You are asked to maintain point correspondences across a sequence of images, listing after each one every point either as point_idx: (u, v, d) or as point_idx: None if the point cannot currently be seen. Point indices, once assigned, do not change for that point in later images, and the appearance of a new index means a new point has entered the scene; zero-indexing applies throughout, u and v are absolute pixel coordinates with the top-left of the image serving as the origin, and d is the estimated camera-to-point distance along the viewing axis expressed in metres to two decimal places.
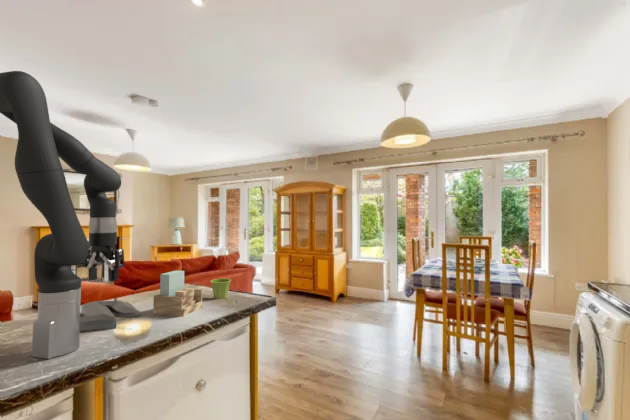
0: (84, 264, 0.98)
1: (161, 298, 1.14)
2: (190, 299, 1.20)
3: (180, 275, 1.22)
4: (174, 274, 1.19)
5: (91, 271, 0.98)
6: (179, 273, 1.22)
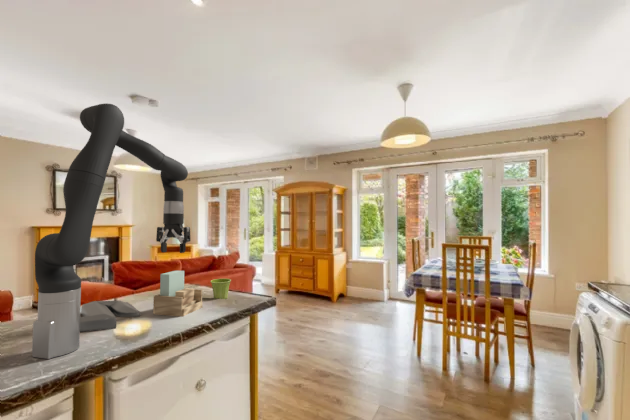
0: (157, 239, 1.21)
1: (161, 298, 1.14)
2: (190, 299, 1.20)
3: (180, 275, 1.22)
4: (174, 274, 1.19)
5: (163, 245, 1.21)
6: (179, 273, 1.22)
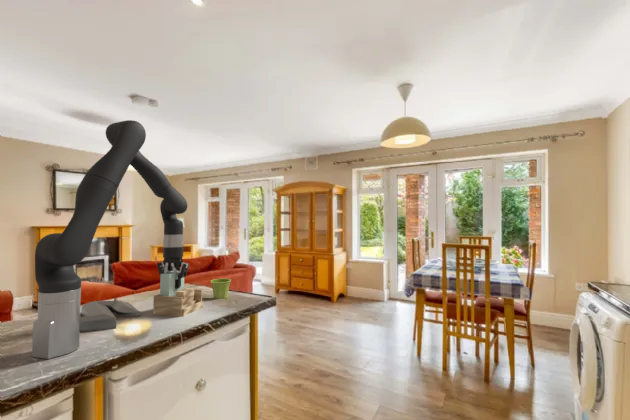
0: None
1: (161, 298, 1.14)
2: (190, 299, 1.20)
3: None
4: (174, 274, 1.19)
5: None
6: None
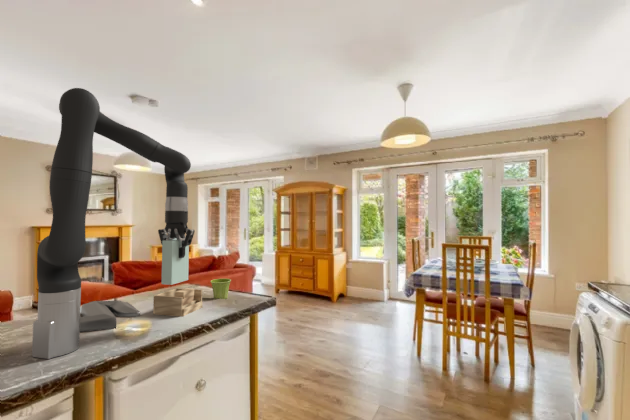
0: None
1: (161, 298, 1.14)
2: (190, 299, 1.20)
3: None
4: (178, 241, 1.05)
5: None
6: None
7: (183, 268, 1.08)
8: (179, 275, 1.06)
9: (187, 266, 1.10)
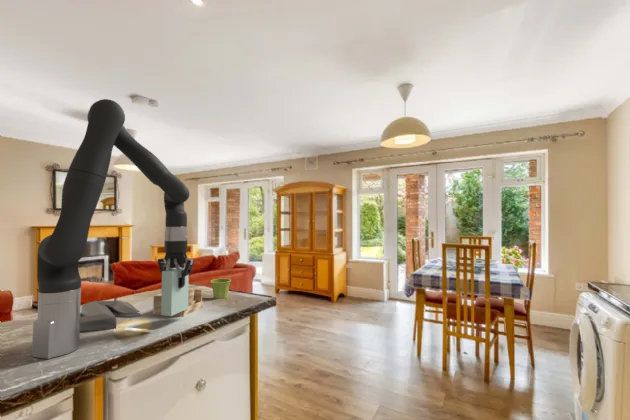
0: None
1: (161, 298, 1.14)
2: (190, 299, 1.20)
3: None
4: (177, 271, 1.05)
5: None
6: None
7: (183, 298, 1.08)
8: (179, 305, 1.05)
9: (187, 295, 1.10)
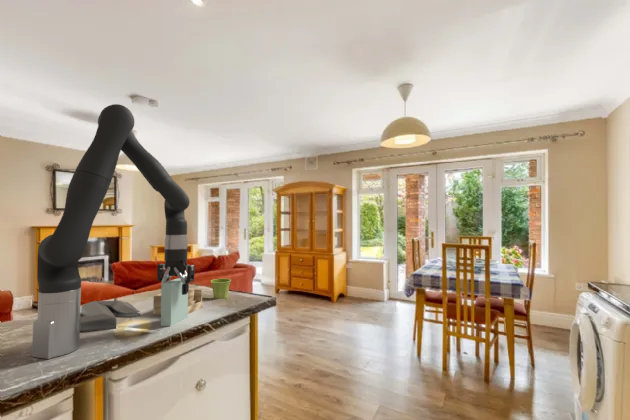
0: (159, 278, 1.07)
1: None
2: (190, 299, 1.20)
3: None
4: (177, 283, 1.04)
5: None
6: None
7: (183, 309, 1.07)
8: (178, 317, 1.05)
9: (186, 306, 1.09)
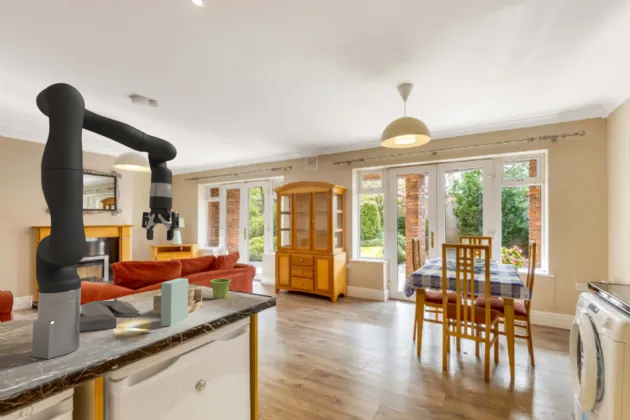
0: (143, 225, 1.10)
1: None
2: (190, 299, 1.20)
3: (183, 283, 1.08)
4: (177, 283, 1.04)
5: (149, 231, 1.09)
6: (182, 281, 1.07)
7: (183, 309, 1.07)
8: (178, 317, 1.05)
9: (186, 306, 1.09)
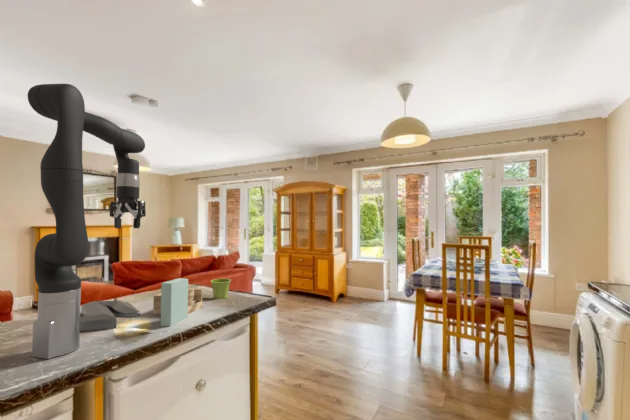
0: (111, 214, 1.14)
1: None
2: (190, 299, 1.20)
3: (183, 283, 1.08)
4: (177, 283, 1.04)
5: (117, 220, 1.14)
6: (182, 281, 1.07)
7: (183, 309, 1.07)
8: (178, 317, 1.05)
9: (186, 306, 1.09)
